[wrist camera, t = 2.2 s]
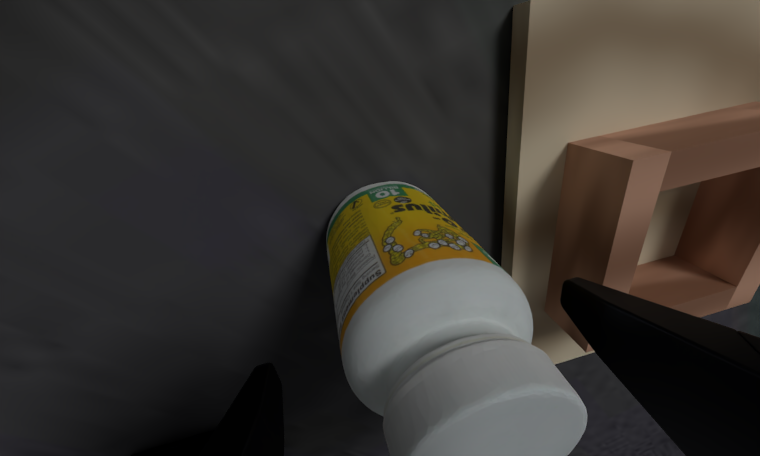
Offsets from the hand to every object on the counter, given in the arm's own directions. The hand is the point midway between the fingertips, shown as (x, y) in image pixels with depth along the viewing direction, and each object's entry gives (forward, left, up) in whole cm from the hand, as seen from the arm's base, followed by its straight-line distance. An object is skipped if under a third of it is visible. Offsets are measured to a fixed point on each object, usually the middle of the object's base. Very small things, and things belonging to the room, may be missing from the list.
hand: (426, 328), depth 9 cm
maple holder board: (-2, -13, -6) cm, 14 cm away
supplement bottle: (0, 0, -6) cm, 6 cm away
